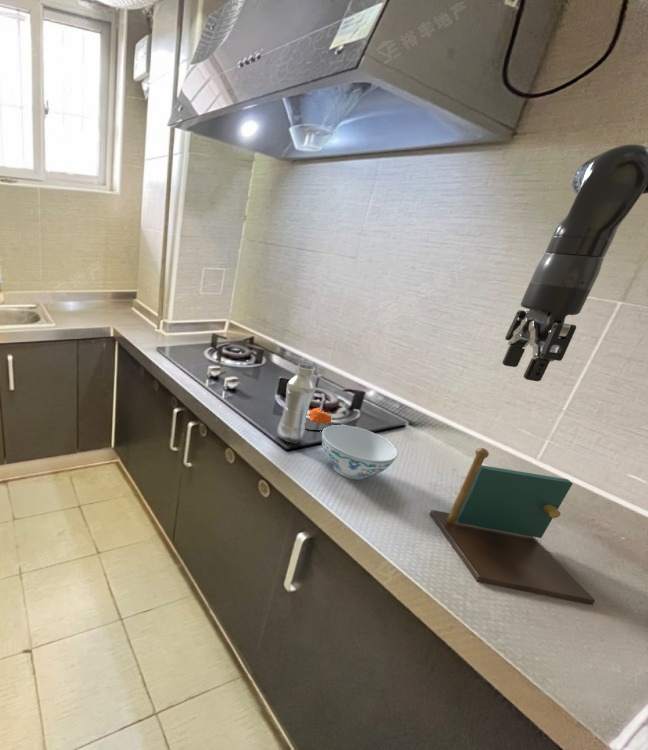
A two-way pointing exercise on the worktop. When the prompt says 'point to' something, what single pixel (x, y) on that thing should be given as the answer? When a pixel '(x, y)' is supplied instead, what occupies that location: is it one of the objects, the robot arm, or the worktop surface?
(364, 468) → the chinaware
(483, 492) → the door
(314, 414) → the rock
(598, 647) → the worktop surface
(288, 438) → the plastic bottle
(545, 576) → the door stand
